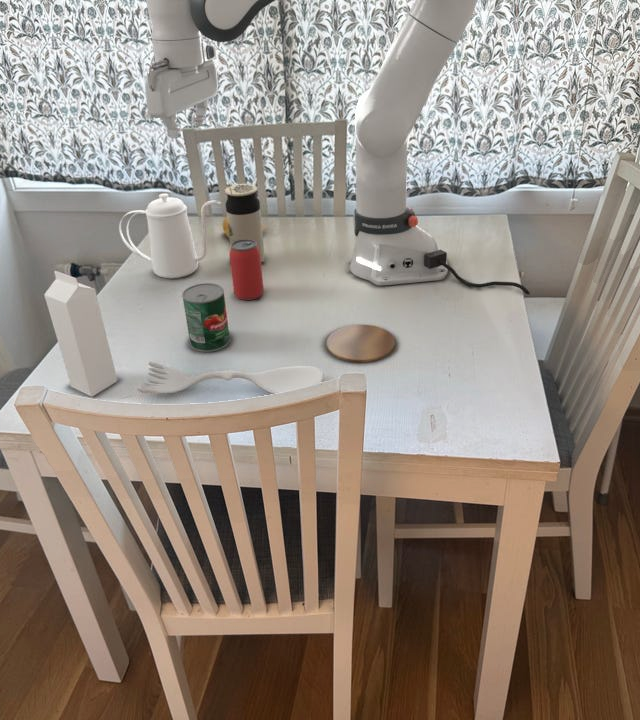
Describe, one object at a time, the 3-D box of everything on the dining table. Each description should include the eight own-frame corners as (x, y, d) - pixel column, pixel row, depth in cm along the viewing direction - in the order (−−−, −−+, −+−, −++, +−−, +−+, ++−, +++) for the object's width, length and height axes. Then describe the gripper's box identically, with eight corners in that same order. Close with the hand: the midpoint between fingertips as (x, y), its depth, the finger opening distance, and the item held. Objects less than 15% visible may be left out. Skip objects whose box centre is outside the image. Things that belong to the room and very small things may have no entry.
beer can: (270, 293, 150) (265, 242, 144) (248, 304, 146) (242, 253, 140) (249, 285, 154) (244, 235, 148) (228, 295, 150) (221, 245, 144)
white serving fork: (152, 374, 125) (148, 359, 123) (325, 373, 122) (324, 357, 120) (138, 404, 117) (135, 387, 115) (323, 403, 115) (322, 386, 113)
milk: (97, 371, 127) (69, 263, 115) (118, 381, 124) (91, 271, 112) (70, 387, 123) (38, 276, 111) (91, 397, 120) (61, 285, 108)
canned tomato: (195, 331, 137) (187, 282, 131) (233, 331, 137) (227, 282, 131) (185, 352, 131) (177, 301, 125) (225, 352, 130) (219, 301, 124)
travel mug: (265, 253, 169) (258, 182, 159) (264, 266, 162) (257, 193, 152) (233, 255, 169) (224, 184, 159) (231, 268, 162) (222, 195, 152)
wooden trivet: (393, 327, 135) (393, 324, 134) (395, 362, 124) (395, 360, 124) (328, 327, 136) (328, 324, 136) (324, 362, 125) (324, 359, 125)
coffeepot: (224, 279, 157) (214, 201, 147) (121, 280, 160) (104, 203, 150) (233, 260, 166) (224, 185, 156) (135, 260, 169) (120, 187, 159)
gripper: (162, 65, 116) (173, 146, 123) (220, 46, 131) (227, 119, 139) (131, 63, 118) (144, 144, 125) (192, 45, 133) (200, 118, 141)
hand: (188, 131), depth 132 cm, fingers open, 8 cm apart
